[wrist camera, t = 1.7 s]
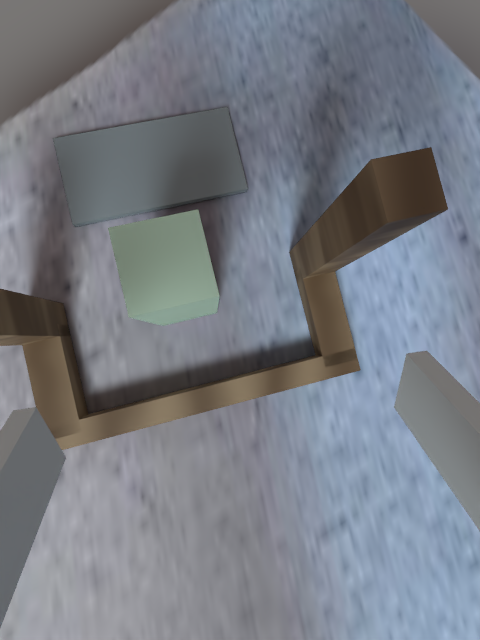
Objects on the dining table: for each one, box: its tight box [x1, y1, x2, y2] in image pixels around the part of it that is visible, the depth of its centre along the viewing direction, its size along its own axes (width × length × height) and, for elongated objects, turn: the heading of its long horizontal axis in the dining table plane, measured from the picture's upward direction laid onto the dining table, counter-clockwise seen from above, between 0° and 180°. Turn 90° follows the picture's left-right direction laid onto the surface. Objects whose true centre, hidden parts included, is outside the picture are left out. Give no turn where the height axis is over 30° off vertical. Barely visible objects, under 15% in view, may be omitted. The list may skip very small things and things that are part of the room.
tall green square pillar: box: [108, 209, 219, 326], centre depth 24 cm, size 5×5×12 cm
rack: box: [0, 147, 448, 450], centre depth 22 cm, size 27×12×16 cm, turn 104°
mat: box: [53, 107, 248, 227], centre depth 30 cm, size 16×8×1 cm, turn 104°
